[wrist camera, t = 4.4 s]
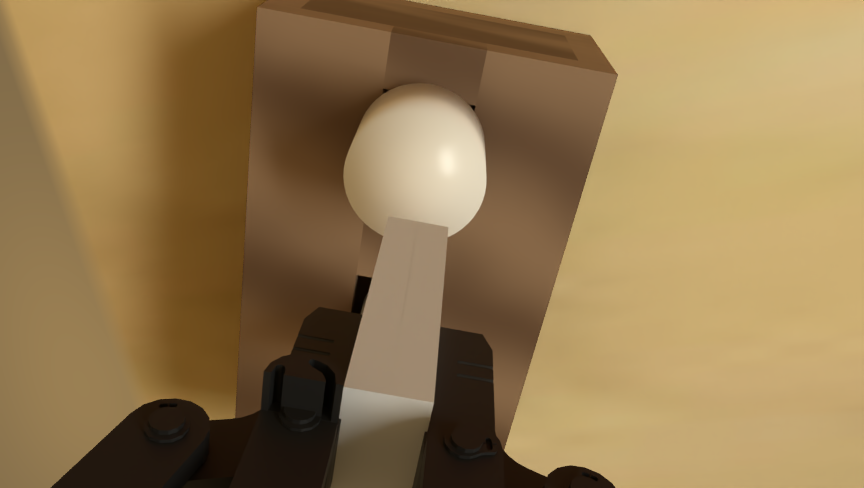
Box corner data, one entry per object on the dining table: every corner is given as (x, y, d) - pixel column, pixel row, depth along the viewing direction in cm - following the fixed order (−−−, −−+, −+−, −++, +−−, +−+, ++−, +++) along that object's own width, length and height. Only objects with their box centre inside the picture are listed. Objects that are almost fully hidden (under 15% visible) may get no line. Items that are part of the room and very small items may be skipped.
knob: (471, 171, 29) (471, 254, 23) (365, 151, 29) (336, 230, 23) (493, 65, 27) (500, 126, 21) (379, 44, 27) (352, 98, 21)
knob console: (480, 434, 39) (481, 524, 34) (264, 398, 39) (231, 483, 33) (590, 35, 29) (618, 75, 23) (297, -21, 28) (256, 7, 23)
